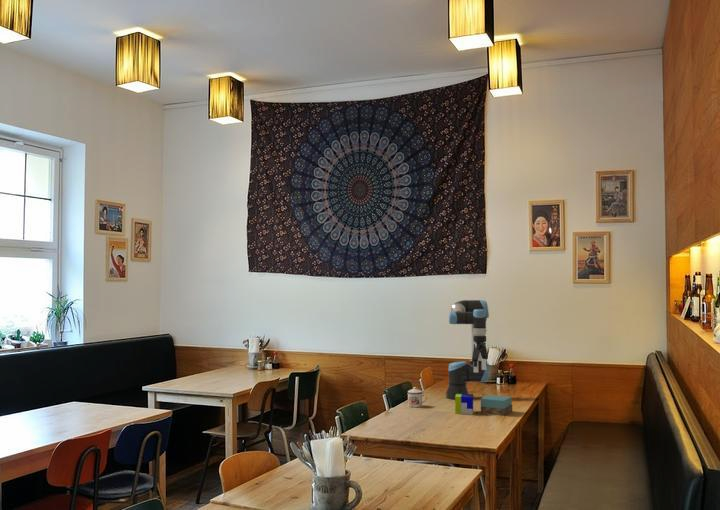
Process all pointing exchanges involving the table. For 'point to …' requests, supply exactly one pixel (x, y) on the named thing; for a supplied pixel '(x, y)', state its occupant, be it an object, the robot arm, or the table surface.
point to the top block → (496, 401)
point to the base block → (496, 410)
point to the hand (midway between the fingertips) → (480, 371)
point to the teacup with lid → (415, 397)
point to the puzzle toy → (464, 404)
